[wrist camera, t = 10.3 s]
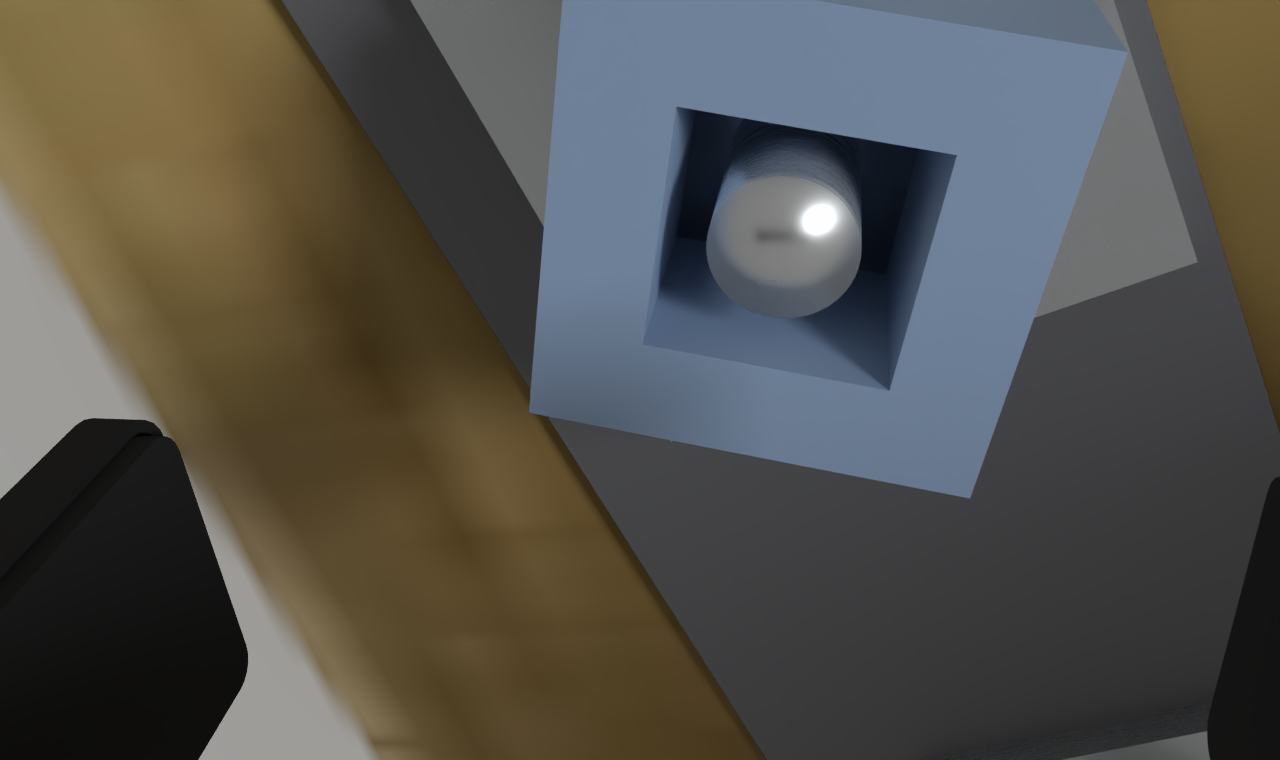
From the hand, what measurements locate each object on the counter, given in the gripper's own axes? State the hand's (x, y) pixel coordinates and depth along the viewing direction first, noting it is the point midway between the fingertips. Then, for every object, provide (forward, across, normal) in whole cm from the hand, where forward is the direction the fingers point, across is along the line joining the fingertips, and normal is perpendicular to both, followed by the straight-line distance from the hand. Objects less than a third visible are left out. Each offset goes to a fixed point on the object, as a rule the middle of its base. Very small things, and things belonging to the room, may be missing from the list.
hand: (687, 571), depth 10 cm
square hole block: (+9, 0, 0) cm, 9 cm away
